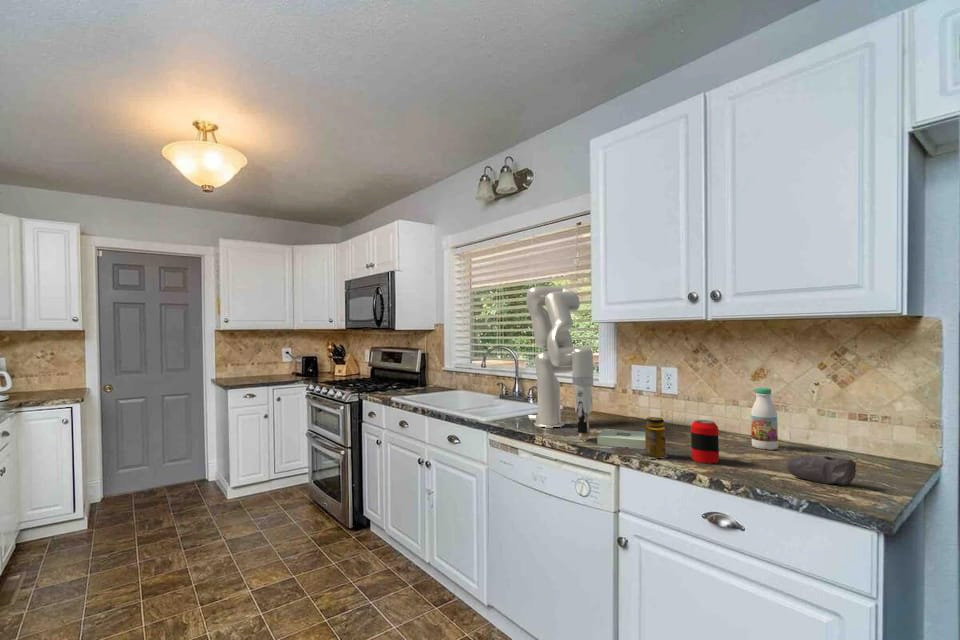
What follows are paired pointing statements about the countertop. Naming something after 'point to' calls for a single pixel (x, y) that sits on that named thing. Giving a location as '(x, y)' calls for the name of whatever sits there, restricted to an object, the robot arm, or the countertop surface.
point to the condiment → (654, 438)
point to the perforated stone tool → (822, 469)
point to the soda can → (704, 441)
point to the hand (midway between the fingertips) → (583, 431)
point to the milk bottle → (764, 421)
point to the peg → (585, 435)
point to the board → (622, 438)
